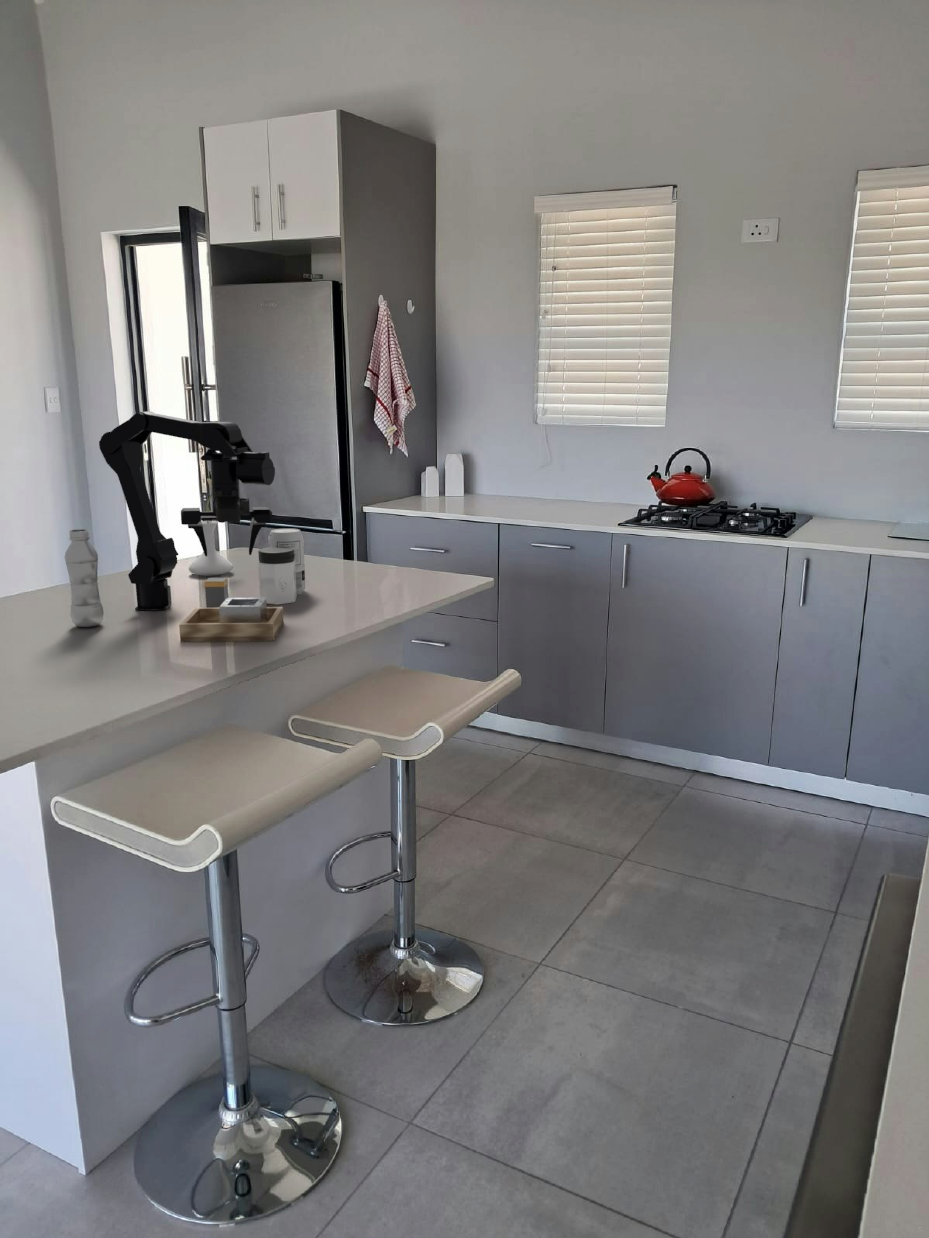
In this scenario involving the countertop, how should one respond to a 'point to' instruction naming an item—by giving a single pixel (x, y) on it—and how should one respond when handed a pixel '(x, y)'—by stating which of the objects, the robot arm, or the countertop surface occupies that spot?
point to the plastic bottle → (83, 580)
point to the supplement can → (295, 541)
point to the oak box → (228, 627)
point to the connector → (216, 591)
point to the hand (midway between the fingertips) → (228, 555)
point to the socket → (243, 610)
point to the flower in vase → (210, 552)
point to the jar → (277, 575)
